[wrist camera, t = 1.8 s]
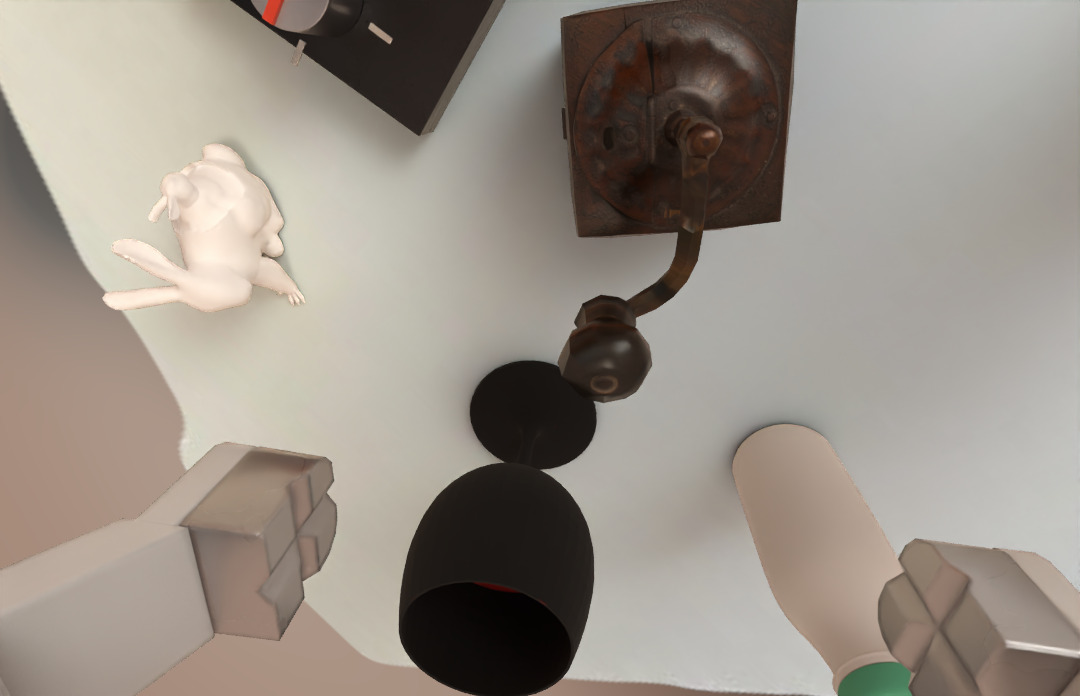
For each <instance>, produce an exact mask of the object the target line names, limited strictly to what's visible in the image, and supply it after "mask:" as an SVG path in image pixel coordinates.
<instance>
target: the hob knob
mask: <svg viewBox="0 0 1080 696" xmlns="http://www.w3.org/2000/svg"><path fill="white" fill-rule="evenodd" d="M251 1H252V3H253V5H254V6H255V8H256V9H257V10H258V12H259V13H260V14H261V15H262V18H263V19H264V20H266V21H267V22H268V23H270V24H271V25H274V26H276V27H278V28H280V29H283V30H286V31H291V32H298V33H305V34H311V35H318V36H325V37H335V36H339V35H342V34H344V33H346V32H347V31H349V30H350V29H351V28H352V27H353V26H354V24H355V23H356V21H357V19H358V18H359V15H360V12H361V8H362V2H363V0H251Z"/></svg>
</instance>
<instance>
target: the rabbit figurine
mask: <svg viewBox="0 0 1080 696" xmlns="http://www.w3.org/2000/svg"><path fill="white" fill-rule="evenodd" d="M202 156H203V159H202V160H200V161H197V162H194V163H190V164H189V165H187V166H185V167H184V168H183V169H182V170H181V171H180V172H178V173H176V172H172V173H169V174H167V175H166V176H165V177H164V178H163V180H162V182H161V185H160V190H161V193H162V197H161V199H160V200H159V201H158V202H157V203H156V204H155V205H154V207H153V208H152V210H151V213H150V215H149V220H150V221H152V222H153V223H156V222H157V221H158V219H159V217H160V215H161V213H162V212H163V211H164V210H165V208H166V207H167V206H168V218H169V220H171V221H172V225H173V227H174V231H175V234H176V236H177V238H178V240H179V243H180V246H181V250H182V255H183V261H184V263H185V266H186V267H187V271H186V270H184V269H182V268H180V267H178V266H177V265H175V264H174V263H172V262H171V261H170V260H168V259H167V258H166V257H165V256H163V255H162V254H161V253H160V252H159V251H157V250H156V249H155V248H153V247H152V246H150V245H148V244H145V243H143V242H140V241H138V240H135V239H131V238H130V239H127V240H125V239H122V240H119V241H114V243H113V245H112V247H111V251H112V252H114V253H115V254H116V255H118V256H120V257H122V258H124V259H126V260H128V261H130V262H132V263H134V264H135V265H137V266H139V267H140V268H142V269H143V270H145V271H147V272H149V273H150V274H152V275H155V276H157V277H159V278H161V279H163V280H166V281H168V282H170V283H173V284H175V286H167V287H153V288H144V289H137V290H126V291H112V292H107V293H105V296H104V297H103V298H102V299H103V300H104V301H105V303H106V305H108V306H109V307H111V308H113V309H116V310H131V309H139V308H145V307H150V306H157V305H161V304H167V303H172V302H183V303H185V304H187V305H189V306H191V307H193V308H196V309H198V310H200V311H203V312H216V311H219V310H222V309H227V308H232V307H237V306H242V305H245V304H246V303H248V302H249V300H250V299H251V292H252V285H255V286H261V287H266V288H269V289H272V290H275V291H279V292H278V293H277V295H280V294H282V293H286V294H287V295H288V297H289V300H290V303H291V304H292V305H293V306H294V304H293V302H294V300H295V303H297V304H298V305H300V304H299V301H300V300H302V301H303V302H304V303H305V301H304V299H305V298H304V297H303V295H302V294H301V292H300V291H299V290H298V288H297V286H296V284H295V282H294V281H293V280H292V279H291V278H290V277H289V276H288V275H287V273H286V272H285V271H284V270H283V269H282V267H281V266H280V265H279V264H278V263H277V262H276V261H274V260H272V259H270V258H265V257H261V255H262V254H263V252H264V253H265V254H267V255H268V256H270V257H278V256H281V255H282V254H283V252H284V247H283V244H282V242H281V240H280V238H279V236H278V232H279V231H280V230H281V228H282V227H283V224H284V221H283V218H282V216H281V214H280V212H279V210H278V208H277V206H276V205H275V203H274V201H273V199H272V196H271V194H270V192H269V190H268V188H267V186H266V185H265V184H264V182H263V181H262V180H261V179H260V178H258V177H257V176H255V175H253V174H252V173H250V172H249V171H248V170H247V169H246V167H245V163H244V161H243V160H242V158H241V157H240V156H239V155H238V154H237V153H236V152H235V151H234V150H232V149H231V148H230V147H228V146H225V145H222V144H217V143H211V144H208V145H206V146H204V147H203V149H202ZM298 297H299V298H298ZM293 298H294V299H293ZM299 299H300V300H299Z"/></svg>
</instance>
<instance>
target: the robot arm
mask: <svg viewBox="0 0 1080 696" xmlns="http://www.w3.org/2000/svg"><path fill="white" fill-rule="evenodd" d="M333 481H334V476H333V468H332V462H331V461H330V460H329V459H327V458H326V457H321V456H315V455H309V454H303V453H297V452H291V451H284V450H278V449H272V448H266V447H255V446H250V445H243V444H237V443H231V442H224V443H221V444H218V445H215V446H214V447H213V448H212V449H211V450H210V451H208V452H207V453H206V454H205V455H204V456H203V457H202V458H201V459H200V460H199V461H198V462H197V463H196V464H194V465H193V466H192V467H191V468H190V469H189V470H188V471H187V472H186V473H185V474H184V475H183V476H182V477H180V478H179V479H178V480H177V481H176V482H175V483H174V484H173V485H172V486H171V487H170V488H168V489H167V491H165V492H164V493H163V494H162V495H161V496H160V497H159V498H158V499H157V500H156V501H154V502H153V503H152V504H151V505H150V506H149V507H148V508H147V509H146V510H145V511H144V512H143V513H141V514H140V515H139V516H138V517H137V518H136V519H135V520H132V519H125V518H122V519H120V520H118V521H115V522H113V523H110V524H108V525H105V526H103V527H100V528H98V529H96V530H93V531H91V532H89V533H86V534H84V535H81V536H79V537H76V538H74V539H71V540H69V541H67V542H64V543H62V544H59V545H57V546H55V547H52V548H50V549H48V550H45V551H43V552H40V553H38V554H35V555H33V556H30V557H28V558H26V559H23V560H21V561H18V562H16V563H13V564H11V565H9V566H6V567H4V568H1V569H0V696H136V695H137V694H138V693H140V692H141V691H142V690H144V689H145V688H147V687H148V686H149V685H150V684H152V683H153V682H155V681H156V680H157V679H159V678H160V677H161V676H163V675H164V674H165V673H167V672H168V671H169V670H171V669H172V668H174V667H175V666H176V665H177V664H179V663H180V662H182V661H183V660H184V659H186V658H187V657H188V656H190V655H191V654H192V653H194V652H195V651H196V650H198V649H199V648H200V647H202V646H203V645H204V644H206V643H207V642H209V641H210V640H211V639H213V638H214V633H219V634H227V635H235V636H243V637H252V638H259V639H268V640H276V641H280V639H281V637H282V635H283V634H284V632H285V630H286V628H287V627H288V625H289V623H290V622H291V620H292V618H293V616H294V615H295V613H296V611H297V609H298V608H299V606H300V604H301V603H302V601H303V599H304V598H305V597H304V589H303V581H304V580H306V579H308V578H309V577H311V576H312V575H314V574H316V573H317V572H319V571H320V570H321V568H322V566H323V564H324V562H325V561H326V559H327V557H328V555H329V553H330V550H331V547H332V543H333V540H334V537H335V534H336V525H337V508H336V504H335V503H334V501H333V500H332V499H331V498H330V497H329V495H328V494H327V493H326V492H327V491H328V489H329V488H330V486H331V485H332V483H333ZM898 560H899V563H900V565H901V568H902V570H903V573H901V574H899V575H898V576H896V577H894V578H892V579H891V580H889V581H887V582H886V583H885V585H884V588H883V590H882V592H881V594H880V596H879V599H878V624H879V627H880V631H881V635H882V638H883V640H884V642H885V644H886V646H887V648H888V650H889V652H890V654H891V655H892V656H893V657H894V658H895V659H896V660H897V661H899V662H900V663H901V664H902V665H903V666H904V667H905V668H907V669H908V670H909V671H910V672H911V676H910V681H909V685H908V689H909V691H910V692H911V694H912V696H1080V592H1079V591H1078V590H1077V589H1076V588H1075V587H1074V586H1073V585H1072V584H1071V583H1070V582H1069V581H1068V580H1067V579H1066V577H1065V576H1064V575H1063V574H1062V573H1061V572H1060V571H1059V570H1058V569H1057V568H1056V567H1055V566H1054V565H1053V564H1052V563H1051V562H1050V561H1048V560H1047V559H1045V558H1043V557H1041V556H1040V555H1038V554H1036V553H1033V552H1025V551H1016V550H1008V549H999V548H992V549H990V548H985V547H977V546H969V545H962V544H954V543H946V542H939V541H931V540H924V539H916V538H915V539H914V540H913V541H911V542H910V543H908V544H907V545H905V547H904V549H903V551H902V553H901V554H900V556H899V558H898Z"/></svg>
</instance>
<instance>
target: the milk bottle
mask: <svg viewBox="0 0 1080 696" xmlns="http://www.w3.org/2000/svg"><path fill="white" fill-rule="evenodd" d="M732 471H733V476H734V480H735V484H736V487H737V490H738V493H739V496H740V500H741V503H742V506H743V509H744V512H745V515H746V518H747V521H748V524H749V528H750V531H751V534H752V537H753V540H754V543H755V546H756V549H757V552H758V555H759V558H760V561H761V564H762V567H763V569H764V572H765V575H766V577H767V580H768V583H769V585H770V588H771V590H772V593H773V595H774V597H775V599H776V601H777V603H778V604H779V606H780V608H781V609H782V611H783V612H784V614H785V616H786V617H787V618H788V619H789V621H790V622H791V623H792V625H793V626H794V627H795V628H796V629H797V630H798V631H799V632H800V633H801V634H802V635H803V636H804V637H805V638H806V639H807V640H808V641H809V642H810V643H811V644H812V646H813V647H814V648H815V649H816V650H817V651H818V652H819V654H820V655H821V656H822V658H823V659H824V660H825V662H826V663H827V665H828V666H829V668H830V669H831V671H832V673H833V675H834V677H833V682H832V683H833V689H834V691H835V692H836V694H837V695H838V696H912V694H911V692H910V691H909V689H908V685H909V681H910V676H911V672H910V671H909V670H908V669H907V668H905V667H904V666H903V665H902V664H901V663H900V662H899V661H897V660H896V659H895V658H894V657H893V656H892V655H891V654H890V652H889V650H888V648H887V646H886V644H885V642H884V640H883V638H882V635H881V631H880V627H879V624H878V599H879V596H880V594H881V592H882V590H883V588H884V585H885V583H886V582H887V581H889V580H891V579H892V578H894V577H896V576H898V575H899V574H901V573H903V570H902V568H901V565H900V563H899V560H898V558H897V556H896V554H895V552H894V550H893V548H892V547H891V545H890V543H889V541H888V539H887V537H886V536H885V534H884V532H883V530H882V529H881V527H880V525H879V524H878V522H877V520H876V519H875V517H874V515H873V513H872V512H871V510H870V508H869V507H868V505H867V503H866V502H865V500H864V498H863V497H862V495H861V493H860V492H859V490H858V489H857V487H856V485H855V484H854V482H853V480H852V479H851V477H850V475H849V474H848V472H847V471H846V469H845V467H844V466H843V464H842V462H841V461H840V459H839V458H838V456H837V454H836V453H835V451H834V450H833V448H832V447H831V445H830V444H829V442H828V441H827V440H826V439H825V438H824V437H823V436H822V435H820V434H819V433H817V432H816V431H814V430H812V429H809V428H806V427H804V426H799V425H795V424H780V425H773V426H770V427H766V428H763V429H761V430H759V431H757V432H755V433H754V434H752V435H751V436H749V437H748V438H747V439H746V440H745V441H744V442H743V443H742V444H741V445H740V447H739V448H738V450H737V452H736V455H735V457H734V460H733V466H732Z"/></svg>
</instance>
